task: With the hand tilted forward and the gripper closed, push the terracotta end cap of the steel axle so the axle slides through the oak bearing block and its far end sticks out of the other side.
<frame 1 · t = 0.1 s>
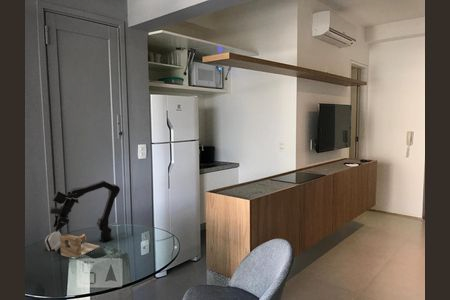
hand: (54, 229, 213), 15 cm above the table, tool tilted 35°, fingers open, 9 cm apart
bearing stand: (80, 251, 213), on the table
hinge: (55, 246, 224), on the table
axle: (76, 240, 210), point 9 cm above the table, slide at 0.0 cm
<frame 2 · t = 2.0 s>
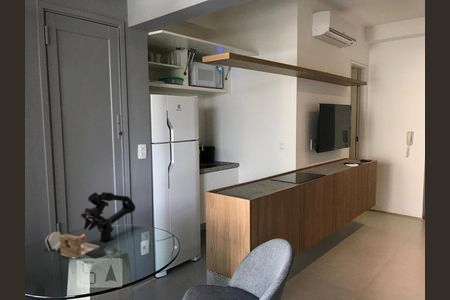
hand: (86, 229, 217), 13 cm above the table, tool tilted 45°, fingers open, 4 cm apart
nothing on the table moved.
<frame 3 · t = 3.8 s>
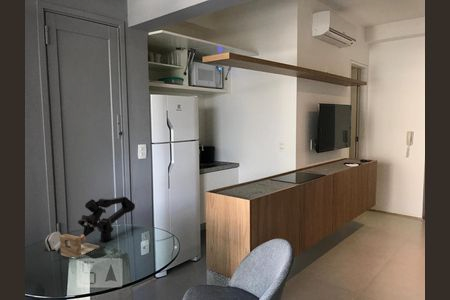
hand: (83, 237, 215), 9 cm above the table, tool tilted 45°, fingers closed, pressing on axle
axle: (75, 240, 210), point 9 cm above the table, slide at 0.6 cm, touching gripper
everything else where it was.
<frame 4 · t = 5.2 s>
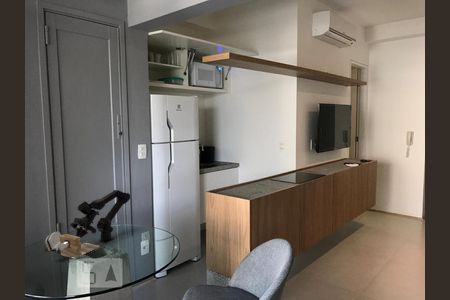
hand: (76, 240, 210), 9 cm above the table, tool tilted 45°, fingers closed, pressing on axle
axle: (67, 243, 205), point 9 cm above the table, slide at 6.2 cm, touching gripper
everything else where it was.
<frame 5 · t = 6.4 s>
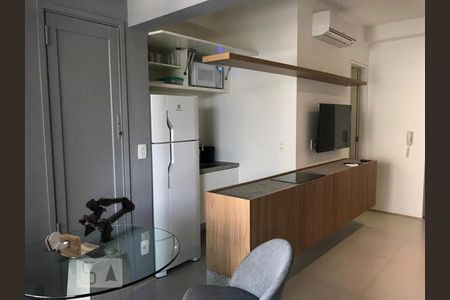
hand: (84, 236, 216), 9 cm above the table, tool tilted 45°, fingers closed
axle: (67, 243, 205), point 9 cm above the table, slide at 6.2 cm
everything else where it was.
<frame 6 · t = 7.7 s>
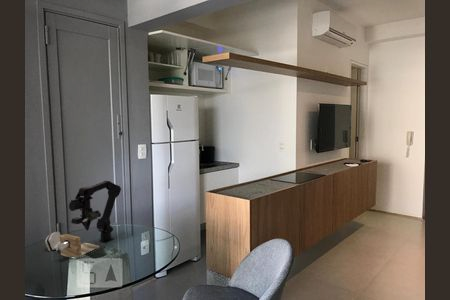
hand: (87, 230, 217), 12 cm above the table, tool pointing down, fingers closed
nothing on the table moved.
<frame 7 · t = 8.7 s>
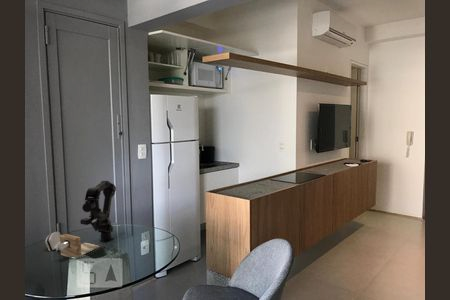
hand: (96, 230, 216), 12 cm above the table, tool pointing down, fingers closed
nothing on the table moved.
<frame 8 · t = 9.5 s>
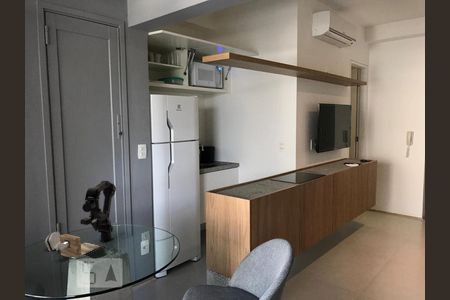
hand: (96, 230, 216), 12 cm above the table, tool pointing down, fingers closed
nothing on the table moved.
at the end: axle slide at 6.2 cm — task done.
